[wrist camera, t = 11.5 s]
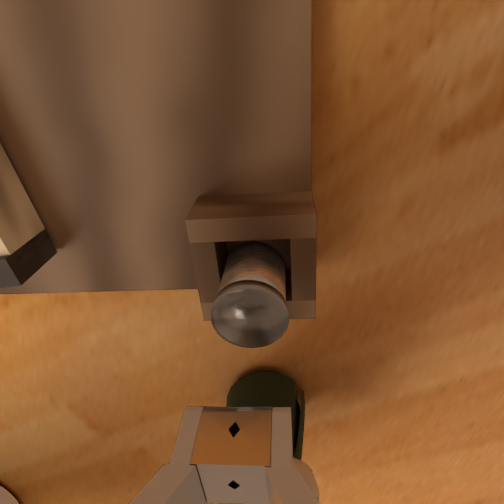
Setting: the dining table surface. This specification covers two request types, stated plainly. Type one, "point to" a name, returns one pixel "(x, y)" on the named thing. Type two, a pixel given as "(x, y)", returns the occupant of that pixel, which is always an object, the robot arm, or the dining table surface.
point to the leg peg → (252, 297)
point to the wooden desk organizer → (161, 139)
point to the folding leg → (19, 230)
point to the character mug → (275, 395)
